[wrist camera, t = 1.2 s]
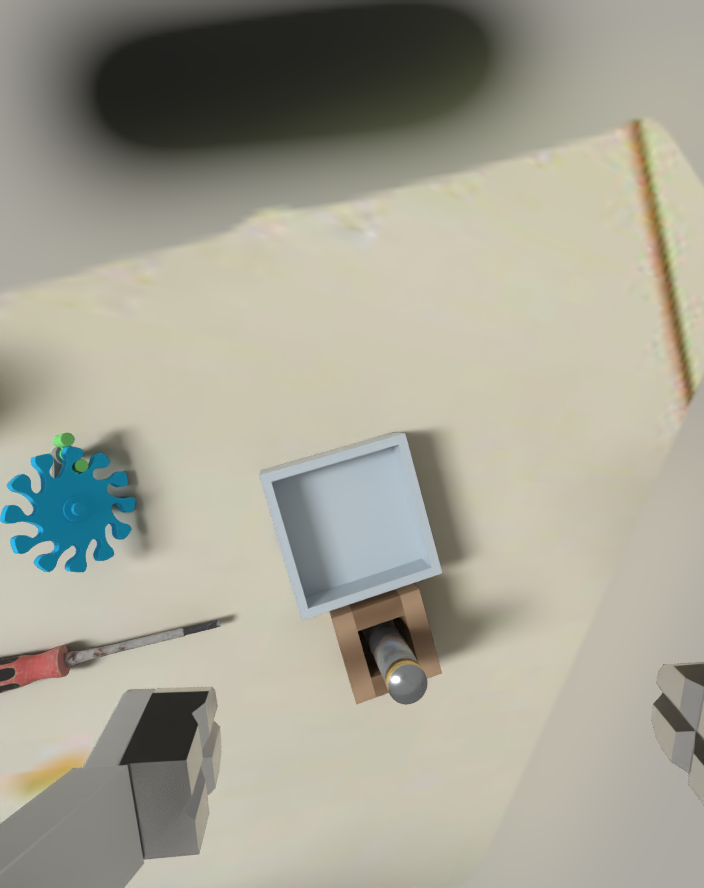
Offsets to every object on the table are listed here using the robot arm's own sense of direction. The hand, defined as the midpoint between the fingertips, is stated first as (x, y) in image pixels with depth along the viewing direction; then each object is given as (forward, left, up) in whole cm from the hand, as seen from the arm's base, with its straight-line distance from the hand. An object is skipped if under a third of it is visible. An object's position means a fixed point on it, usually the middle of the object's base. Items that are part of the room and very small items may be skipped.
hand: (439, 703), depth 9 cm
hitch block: (-16, -3, -38) cm, 42 cm away
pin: (-16, -3, -38) cm, 42 cm away
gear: (+4, +18, -39) cm, 43 cm away
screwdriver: (-9, +23, -39) cm, 46 cm away
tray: (-5, -3, -38) cm, 39 cm away
